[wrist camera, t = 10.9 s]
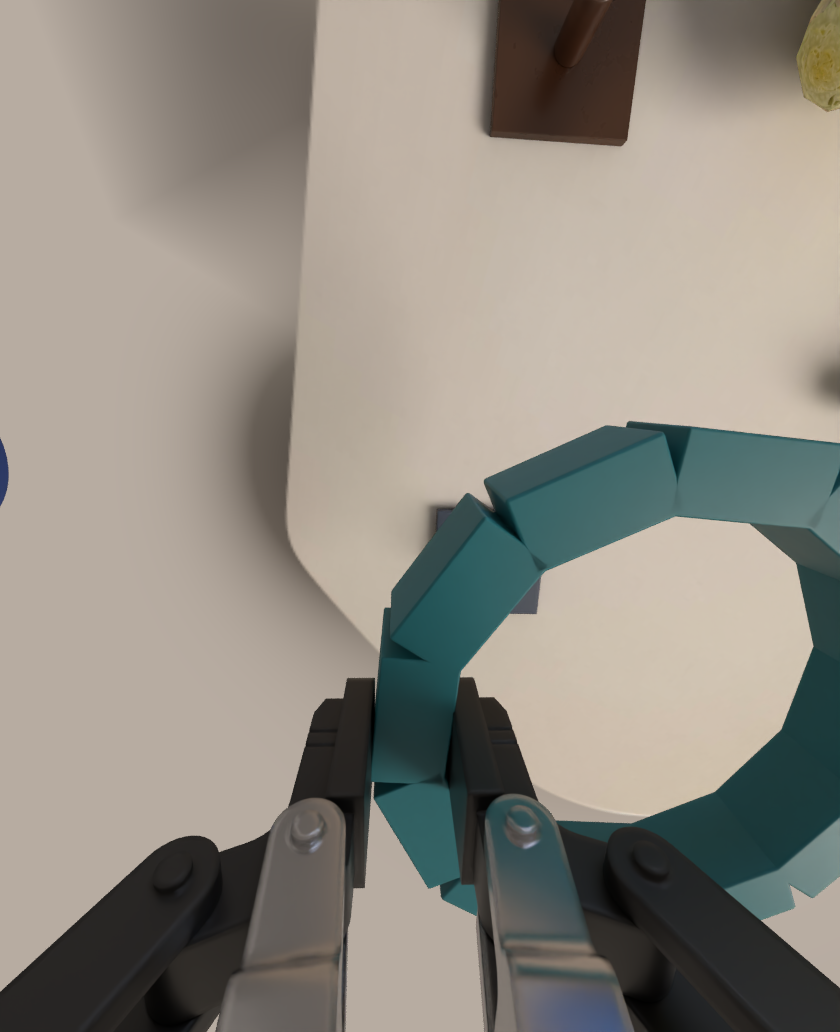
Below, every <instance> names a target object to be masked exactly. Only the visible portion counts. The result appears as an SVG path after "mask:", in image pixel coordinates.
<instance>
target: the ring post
mask: <svg viewBox="0 0 840 1032" xmlns="http://www.w3.org/2000/svg"><path fill="white" fill-rule="evenodd" d="M645 2H646V0H499V3H498V18H497V34H496V49H495V65H494V80H493V96H492V112H491V127H490V137H501V138H515V139H529V140H543V141H557V142H571V143H585V144H599V145H613V146H622V145H623V144H624V143H625V142H626V141H627V137H628V129H629V122H630V114H631V107H632V99H633V92H634V85H635V77H636V70H637V62H638V55H639V47H640V40H641V32H642V25H643V17H644V10H645Z"/></svg>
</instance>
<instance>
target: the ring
mask: <svg viewBox="0 0 840 1032" xmlns="http://www.w3.org/2000/svg"><path fill="white" fill-rule="evenodd" d="M484 485H485V487H486V490H487V492H488V494H489V497H490V499H491V502H492V504H493V507H494V509H495V512H494V511H493V510H492V509H490V508H489V507H488V506H486V505H485V504H483V503H482V502H481V501H479V500H478V499H477V498H475V497H474V496H472V495H471V494H470V493H466V494H465V495H464V497H463V498H462V499H461V501H460V502H459V503H458V505H457V506H456V507H455V508H454V510H453V511H452V512H451V514H450V515H449V516H448V518H447V519H446V520H445V522H444V523H443V524H442V525H441V527H440V528H439V529H438V531H437V532H436V533H435V535H434V536H433V537H432V539H431V540H430V541H429V542H428V544H427V545H426V546H425V548H424V549H423V550H422V552H421V553H420V554H419V556H418V557H417V558H416V559H415V561H414V562H413V563H412V565H411V566H410V567H409V569H408V570H407V571H406V573H405V574H404V575H403V577H402V578H401V579H400V580H399V582H398V583H397V584H396V586H395V587H394V588H393V590H392V592H391V608H385V609H384V615H383V626H382V636H381V647H380V658H379V669H378V679H377V689H376V700H375V715H374V728H373V740H372V753H371V782H374V800H375V801H376V803H377V805H378V806H379V808H380V810H381V811H382V813H383V815H384V816H385V818H386V820H387V821H388V823H389V825H390V826H391V828H392V830H393V831H394V833H395V834H396V836H397V838H398V839H399V841H400V843H401V844H402V846H403V848H404V849H405V851H406V852H407V854H408V856H409V857H410V859H411V861H412V862H413V864H414V866H415V867H416V869H417V871H418V872H419V874H420V875H421V877H422V879H423V880H424V882H425V884H426V885H427V887H428V888H433V887H435V886H438V885H440V891H441V897H442V899H443V900H444V901H446V902H449V903H451V904H453V905H455V906H457V907H459V908H461V909H463V910H465V911H467V912H469V913H471V914H473V915H475V916H477V907H478V906H477V899H476V893H475V887H474V885H461V879H460V871H459V863H458V856H457V848H456V840H455V832H454V825H453V817H452V809H451V801H450V794H449V780H448V772H447V760H448V753H449V747H450V740H451V734H452V726H453V712H455V707H456V701H457V694H458V687H459V681H460V674H461V670H462V669H463V668H464V667H465V666H466V664H467V663H468V662H469V661H470V660H471V659H472V657H473V656H474V655H475V654H476V653H477V651H478V650H479V649H480V648H481V647H482V645H483V644H484V643H485V642H486V641H487V640H488V638H489V637H490V636H491V635H492V634H493V632H494V631H495V630H496V629H497V628H498V626H499V625H500V624H501V623H502V622H503V621H504V619H505V618H506V617H507V616H508V615H509V613H510V612H511V611H512V610H513V609H514V607H515V606H516V605H517V604H518V603H519V602H520V600H521V599H522V598H523V597H524V596H525V594H526V593H527V592H528V591H529V590H530V588H531V587H532V586H533V585H534V584H535V583H536V581H537V580H538V579H539V578H540V577H541V575H542V574H543V573H544V572H545V571H547V570H549V569H552V568H554V567H556V566H559V565H561V564H563V563H566V562H568V561H570V560H573V559H575V558H578V557H580V556H582V555H585V554H587V553H589V552H592V551H594V550H597V549H599V548H601V547H604V546H606V545H608V544H611V543H613V542H615V541H618V540H620V539H623V538H625V537H627V536H630V535H632V534H634V533H637V532H639V531H641V530H644V529H646V528H649V527H651V526H653V525H656V524H658V523H660V522H663V521H665V520H668V519H670V518H672V517H675V516H677V517H688V518H698V519H709V520H719V521H730V522H740V523H750V524H751V525H752V526H753V527H754V528H756V529H757V530H758V531H759V532H760V533H761V534H763V535H764V536H765V537H766V538H767V539H769V540H770V541H771V542H772V543H773V544H774V545H776V546H777V547H778V548H779V549H780V550H782V551H783V552H784V553H785V554H786V555H788V556H789V557H790V558H791V559H792V560H793V561H795V562H796V564H797V569H798V574H799V579H800V584H801V588H802V593H803V598H804V603H805V608H806V612H807V617H808V622H809V627H810V631H811V636H812V641H813V646H814V647H813V649H812V652H811V654H810V657H809V660H808V662H807V665H806V667H805V670H804V672H803V675H802V678H801V680H800V683H799V685H798V688H797V691H796V693H795V696H794V698H793V701H792V704H791V706H790V709H789V711H788V714H787V717H786V719H785V722H784V724H783V727H782V730H781V731H780V732H778V733H777V734H776V735H775V736H774V737H773V738H772V739H771V740H770V741H769V742H768V743H767V744H766V745H765V746H763V747H762V748H761V749H760V750H759V751H758V752H757V753H756V754H755V755H754V756H753V757H752V758H751V759H750V760H749V761H747V762H746V763H745V764H744V765H743V766H742V767H741V768H740V769H739V770H738V771H737V772H736V773H735V774H734V775H732V776H731V777H730V778H729V779H728V780H727V781H726V782H725V783H724V784H723V785H722V786H721V787H720V788H719V789H717V790H716V791H715V792H714V793H711V794H708V795H706V796H703V797H700V798H698V799H695V800H692V801H690V802H687V803H685V804H682V805H679V806H677V807H674V808H671V809H669V810H666V811H663V812H661V813H658V814H655V815H653V816H650V817H647V818H645V819H643V820H640V821H637V822H634V823H631V824H630V823H604V822H580V821H556V822H557V823H558V824H559V825H561V826H562V827H564V828H566V829H568V830H570V831H572V832H574V833H577V834H580V835H583V836H587V837H590V838H594V839H597V840H600V841H604V842H607V843H608V839H609V838H610V836H611V834H612V833H613V832H614V831H616V830H617V829H619V828H622V827H629V826H631V827H639V828H643V829H646V830H649V831H651V832H653V833H655V834H657V835H659V836H661V837H662V838H664V839H665V840H667V841H668V842H669V843H670V844H672V845H673V846H674V847H675V848H676V849H678V850H679V851H680V852H681V853H682V854H683V855H685V856H686V857H687V858H688V859H689V860H690V861H692V862H693V863H694V864H695V865H696V866H697V867H699V868H700V869H701V870H702V871H703V872H704V873H706V874H707V875H708V876H709V877H710V878H711V879H713V880H714V881H715V882H716V883H717V884H719V885H720V886H721V887H722V888H723V889H724V890H726V891H727V892H728V893H729V894H730V895H731V896H733V897H734V898H735V899H736V900H737V901H738V902H740V903H741V904H742V905H743V906H744V907H745V908H747V909H748V910H749V911H750V912H751V913H752V914H754V915H755V916H756V917H757V918H758V919H759V920H763V919H766V918H768V917H771V916H774V915H777V914H779V913H782V912H785V911H788V910H791V909H793V908H794V907H795V903H794V900H793V896H792V892H791V889H790V885H791V886H793V887H794V888H796V889H798V890H799V891H801V892H803V893H804V894H806V895H807V896H809V897H811V898H814V897H815V896H816V895H818V894H819V893H820V892H821V891H822V890H824V889H825V888H826V887H827V886H828V885H830V884H831V883H832V882H833V881H834V880H836V879H837V878H838V877H839V876H840V443H833V442H824V441H815V440H806V439H798V438H789V437H780V436H771V435H762V434H753V433H744V432H735V431H726V430H718V429H709V428H700V427H691V426H679V425H668V424H656V423H645V422H633V421H629V422H627V425H626V428H625V427H617V426H604V427H601V428H599V429H597V430H595V431H592V432H590V433H588V434H585V435H583V436H581V437H579V438H576V439H574V440H572V441H570V442H567V443H565V444H563V445H561V446H558V447H556V448H554V449H551V450H549V451H547V452H545V453H542V454H540V455H538V456H536V457H533V458H531V459H529V460H527V461H524V462H522V463H520V464H517V465H515V466H513V467H511V468H508V469H506V470H504V471H502V472H499V473H497V474H495V475H493V476H490V477H488V478H486V479H485V480H484ZM789 884H790V885H789Z"/></svg>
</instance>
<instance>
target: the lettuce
mask: <svg viewBox="0 0 840 1032" xmlns="http://www.w3.org/2000/svg"><path fill="white" fill-rule="evenodd" d="M796 59H797V65H798V70H799V76H800V81H801V86H802V91H803V95H804V98H806V99H808V100H810V101H811V102H813V103H815V104H816V105H818V106H819V107H821V108H822V109H824V110H825V111H826V112H829V111H832V110H836V109H839V108H840V0H821V2H820V3H819V5H818V7H817V8H816V10H815V12H814V14H813V15H812V17H811V19H810V22H809V25H808V28H807V30H806V33H805V36H804V39H803V42H802V44H801V46H800V49H799V51H798V54H797V56H796Z"/></svg>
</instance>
